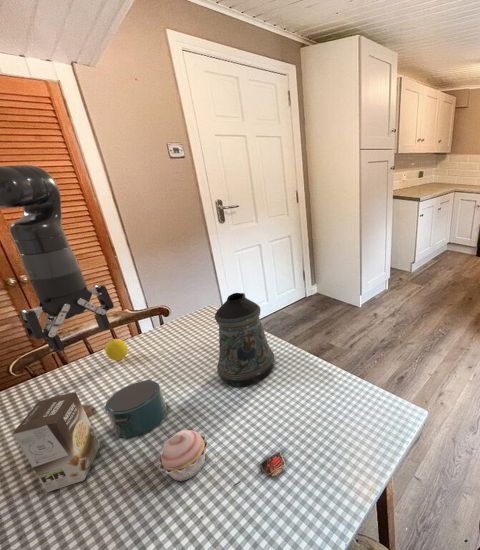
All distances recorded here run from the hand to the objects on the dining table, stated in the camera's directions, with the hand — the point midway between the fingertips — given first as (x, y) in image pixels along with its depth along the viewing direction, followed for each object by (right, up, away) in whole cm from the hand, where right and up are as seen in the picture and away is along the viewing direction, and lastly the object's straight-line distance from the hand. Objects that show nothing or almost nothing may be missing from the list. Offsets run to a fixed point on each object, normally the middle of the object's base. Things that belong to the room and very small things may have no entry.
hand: (83, 338), depth 67 cm
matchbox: (+43, -27, -1) cm, 51 cm away
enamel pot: (+5, -23, +11) cm, 26 cm away
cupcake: (+24, -28, -1) cm, 37 cm away
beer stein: (+25, -15, +29) cm, 41 cm away
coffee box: (-1, -28, -1) cm, 28 cm away
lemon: (-19, -14, +33) cm, 41 cm away
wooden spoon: (-11, -24, +7) cm, 28 cm away
